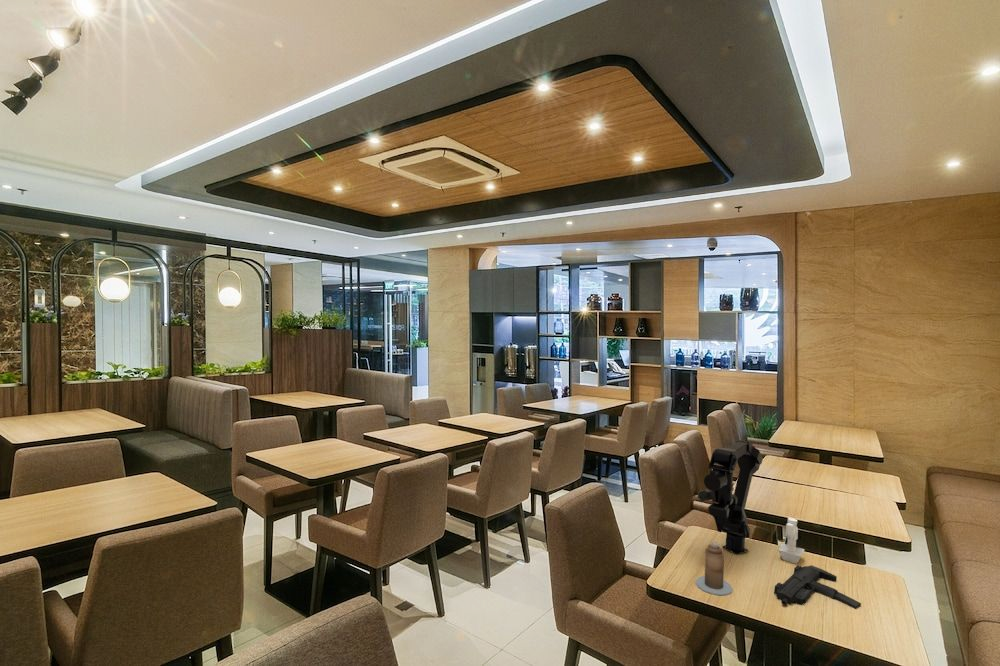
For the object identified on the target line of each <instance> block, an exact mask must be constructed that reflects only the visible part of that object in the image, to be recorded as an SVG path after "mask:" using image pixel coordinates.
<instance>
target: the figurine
mask: <svg viewBox="0 0 1000 666" xmlns="http://www.w3.org/2000/svg"><path fill="white" fill-rule="evenodd" d="M797 525H798V520H797V519H796V518H793V517H787V523H786V524H785V536H786V538H787V543H781V545H780V546H779V548H778V549H777V551H778V552H779V555H780V557H781V559H782V560H783V561H786V562H789V563H791V564H792V563H793V564H796V565H798V562H799V561H800V559H801V557H802V556H803V554H804V551H805V550H806V549H804V548H801V547H797V540H798V539H799V537H798V536H799V535H798V534H799V528H798V526H797Z"/></svg>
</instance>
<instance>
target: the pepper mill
mask: <svg viewBox="0 0 1000 666" xmlns="http://www.w3.org/2000/svg"><path fill="white" fill-rule="evenodd" d="M704 558H705V560H704V561H705V563H704V576H705V585H706V586H708V587H709V588H712V589H722V588H723V581H725V580H724V579H725V578H724V573H725V571H724V570H725V551H723V547H722V546H720V544H719V543H718V542H711V543H710V544H709V545H707V548H705V557H704Z"/></svg>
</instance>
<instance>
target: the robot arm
mask: <svg viewBox="0 0 1000 666" xmlns="http://www.w3.org/2000/svg"><path fill="white" fill-rule="evenodd" d="M762 463H763V455H762V453H761V451H760V450H759V449H758V448H756V447H755V446H754V444H752V442H750V441H748V440H741V439H740V440H736V442H734V443H733V444H731V445H730V446H728V447H716V448H715V449H714V450H713V452H712V453H711V457H710V460H709V463H708V466H707V467H708V469H710V470H709V474H707V475H705V477H704V479H703V483H704V486H705V489H700V490H699V491H698V492H697V499H699V502H701V503H702V502H705V501H711V502H712V503H710V504H709V506H708V507H707V513H708V514H709V515H710V516H712V517H713V519H714V521H715V525H716V530H717V532H718V533H721V532H723V533H726V536H725V545H722V549H726V550H727V551H729V552H731V553H733V554H735V555H740V554H743V553H746V552H748V551H749V549H747V548H745V546H746V545H745V543H746V539H748V538H749V539H750V534H751V528H750V526H749V524H748V517H747V515H746V514H747V513H746V512H745V510H746V504H747V500H748V496H749V493H750V492H749V491H750V488H751V483H752V479H753V475H754V474H755V473H756V472H757V471H758V470H759V469H760V466H761V465H762ZM737 466H738V469H739V472H738V475H737V480H736V483H735V486H733V483H734V482H733V481H734V479H733V478H734V471H735V469H736V467H737ZM734 487H735V489H734ZM733 492H734V493H733Z"/></svg>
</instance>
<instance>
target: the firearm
mask: <svg viewBox="0 0 1000 666" xmlns="http://www.w3.org/2000/svg"><path fill="white" fill-rule="evenodd" d="M837 578H838V577H837V575H835V574H832V573H831V572H829V571H826V570H824V569H822V568H821V567H817V566H815V565H812V564H811V565H808V566H807V565H804V566H801V565H798V564H796V566H795V567H794V569H793V574H792V575H791V576H789V578H788V579H786V580H785V581H784V582H783V583H782V582H778V583H776V584H775V585H774V591H773V593H774V595H776V596H775V597H777V598H778V599H779V600H780V602H781V604H782V605H783V606H784V605H785V606H786V605H789V606H790V605H792V604H793V603H795V604H797V605H799V606H802V605H804V604H805V603H806V602H807V601H808V600H809V598H811V596H812V594H813V593H814V592H816V593H818V594H821V595H823V596H826V597H828V598H830V599H832V600H835V601H837V602H840V603H843V604H844V605H847V606H849V607H850V608H853V609H854V610H856V609H858V608H860V607H861V605H862V603H861V602H859V601H858V600H856V599H855V598H852V597H850V596H847V595H846V594H844V593H841V592H840V591H838V590H837V589H836V588H833V587H832V586H829V585H825V584H823V583H821V582H818V580H819V579H823V580H826V581H828V582H829V581H830V582H833V583H836V582H837V580H838V579H837Z"/></svg>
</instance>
